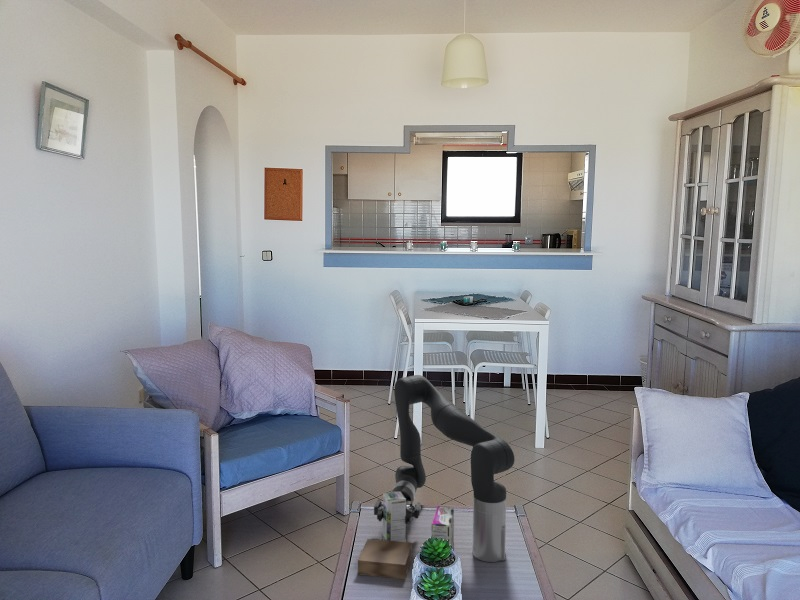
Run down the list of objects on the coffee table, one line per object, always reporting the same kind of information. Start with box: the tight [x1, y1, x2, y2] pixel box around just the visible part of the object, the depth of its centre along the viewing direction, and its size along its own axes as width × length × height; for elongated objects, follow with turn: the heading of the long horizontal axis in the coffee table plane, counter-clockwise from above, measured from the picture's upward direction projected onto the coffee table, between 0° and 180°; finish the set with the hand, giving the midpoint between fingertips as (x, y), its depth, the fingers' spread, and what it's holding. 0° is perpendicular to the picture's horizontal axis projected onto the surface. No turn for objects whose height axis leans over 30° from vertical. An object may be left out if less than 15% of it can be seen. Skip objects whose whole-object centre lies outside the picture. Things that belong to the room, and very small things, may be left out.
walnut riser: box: [357, 538, 413, 580], centre depth 171 cm, size 13×12×4 cm
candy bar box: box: [431, 505, 455, 552], centre depth 167 cm, size 11×5×16 cm, turn 168°
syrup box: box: [382, 491, 407, 542], centre depth 183 cm, size 6×6×14 cm
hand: (393, 519), depth 181 cm, fingers closed on syrup box, 7 cm apart
